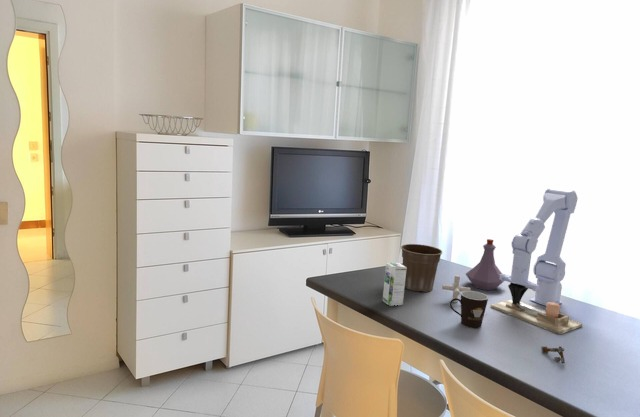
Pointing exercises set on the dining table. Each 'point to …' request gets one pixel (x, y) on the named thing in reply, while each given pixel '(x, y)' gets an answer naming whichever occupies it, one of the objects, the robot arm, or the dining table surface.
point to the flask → (486, 270)
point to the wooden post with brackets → (559, 350)
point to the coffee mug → (471, 308)
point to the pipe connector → (455, 288)
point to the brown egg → (552, 309)
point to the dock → (539, 318)
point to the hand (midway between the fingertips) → (515, 304)
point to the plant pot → (420, 266)
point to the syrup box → (394, 284)
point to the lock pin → (529, 309)
